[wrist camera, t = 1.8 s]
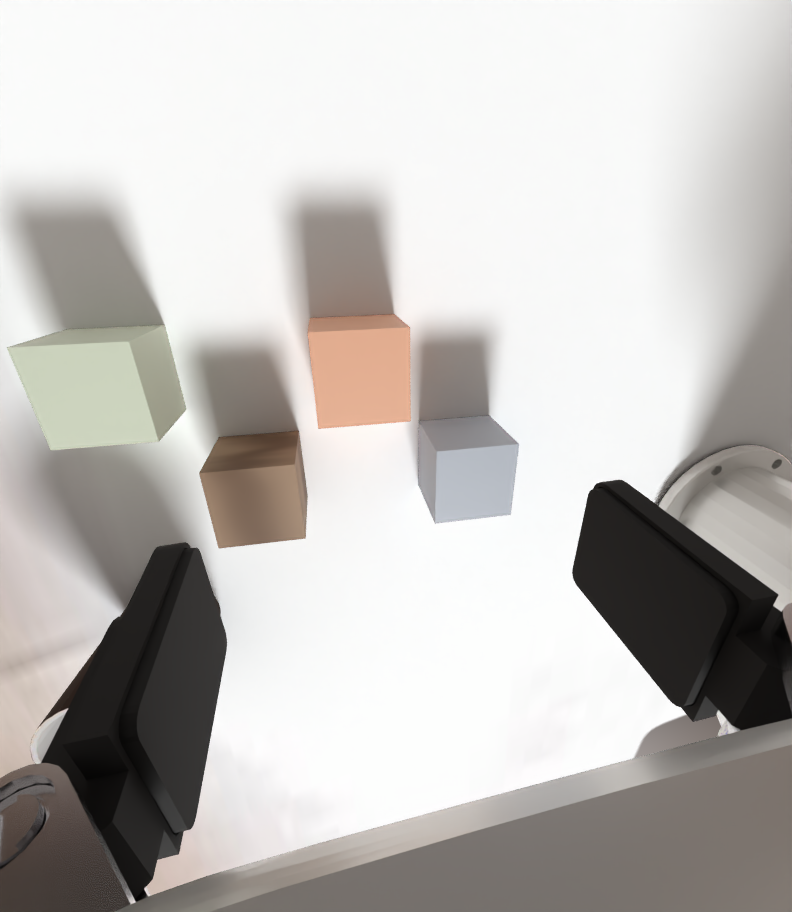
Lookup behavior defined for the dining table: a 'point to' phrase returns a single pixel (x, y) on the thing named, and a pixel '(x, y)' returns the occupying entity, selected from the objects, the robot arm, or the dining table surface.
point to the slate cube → (466, 468)
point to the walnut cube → (256, 489)
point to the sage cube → (101, 385)
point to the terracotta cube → (360, 369)
